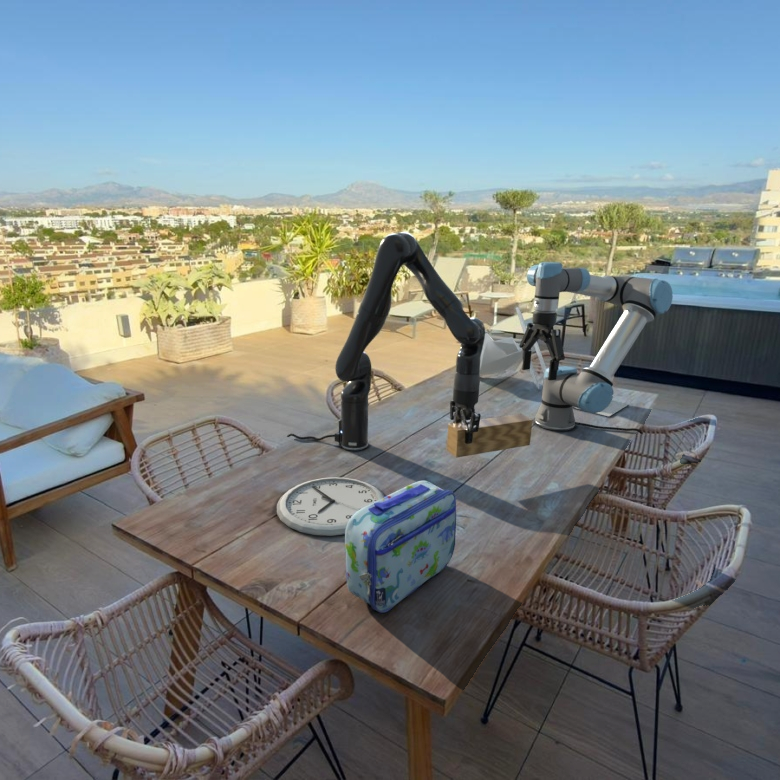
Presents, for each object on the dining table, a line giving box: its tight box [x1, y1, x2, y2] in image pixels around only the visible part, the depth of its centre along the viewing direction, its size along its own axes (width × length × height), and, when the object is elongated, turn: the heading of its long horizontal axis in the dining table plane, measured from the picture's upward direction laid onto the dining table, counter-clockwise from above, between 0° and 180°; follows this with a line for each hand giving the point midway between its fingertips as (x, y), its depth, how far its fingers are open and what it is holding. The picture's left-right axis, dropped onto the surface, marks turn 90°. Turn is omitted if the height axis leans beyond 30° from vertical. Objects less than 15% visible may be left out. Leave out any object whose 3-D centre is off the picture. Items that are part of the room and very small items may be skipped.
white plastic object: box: [480, 306, 547, 390], centre depth 260 cm, size 37×45×31 cm
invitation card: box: [573, 400, 629, 418], centre depth 226 cm, size 21×1×15 cm
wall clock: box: [276, 476, 386, 537], centre depth 142 cm, size 30×2×30 cm
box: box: [445, 413, 534, 459], centre depth 163 cm, size 27×6×9 cm, turn 113°
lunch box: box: [344, 480, 457, 614], centre depth 109 cm, size 26×11×21 cm, turn 135°
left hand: (462, 439), depth 159 cm, fingers closed on box, 6 cm apart
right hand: (538, 374), depth 175 cm, fingers open, 13 cm apart
